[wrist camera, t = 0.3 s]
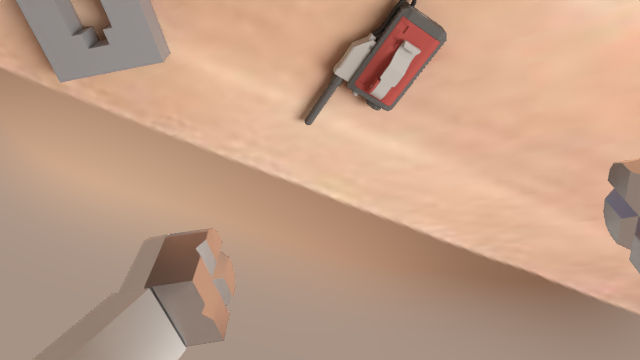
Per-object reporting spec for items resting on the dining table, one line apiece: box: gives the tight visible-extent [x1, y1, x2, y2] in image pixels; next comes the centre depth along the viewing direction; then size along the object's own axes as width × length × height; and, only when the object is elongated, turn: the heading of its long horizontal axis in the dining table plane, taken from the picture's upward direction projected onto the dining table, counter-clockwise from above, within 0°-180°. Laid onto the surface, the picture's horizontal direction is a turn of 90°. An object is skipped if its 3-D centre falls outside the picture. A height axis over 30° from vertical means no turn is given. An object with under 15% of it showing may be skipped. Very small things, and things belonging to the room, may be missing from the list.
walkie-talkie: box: [305, 0, 446, 125], centre depth 56 cm, size 9×4×20 cm
